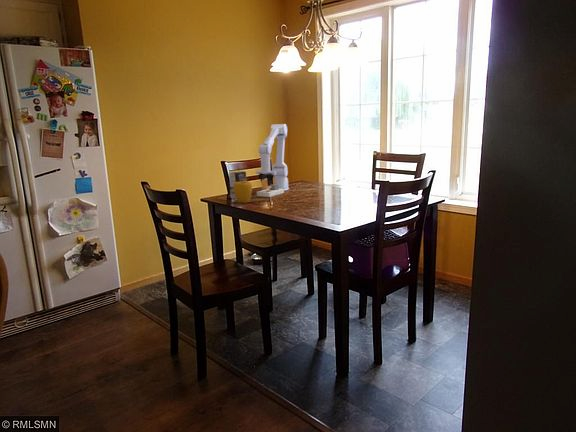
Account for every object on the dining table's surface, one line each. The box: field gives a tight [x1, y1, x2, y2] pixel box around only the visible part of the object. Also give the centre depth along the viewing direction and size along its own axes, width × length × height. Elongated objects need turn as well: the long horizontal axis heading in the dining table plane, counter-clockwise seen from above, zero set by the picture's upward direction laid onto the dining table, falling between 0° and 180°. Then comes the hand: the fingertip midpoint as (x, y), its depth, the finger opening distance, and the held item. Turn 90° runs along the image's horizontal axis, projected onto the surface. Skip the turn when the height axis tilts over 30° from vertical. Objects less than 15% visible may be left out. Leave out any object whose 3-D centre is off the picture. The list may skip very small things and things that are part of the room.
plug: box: [261, 178, 271, 190], centre depth 271 cm, size 4×4×6 cm
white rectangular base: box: [256, 183, 285, 199], centre depth 275 cm, size 16×10×6 cm, turn 146°
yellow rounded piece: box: [234, 180, 253, 204], centre depth 255 cm, size 11×11×13 cm
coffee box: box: [228, 170, 247, 200], centre depth 269 cm, size 9×6×16 cm
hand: (266, 185), depth 271 cm, fingers closed on plug, 4 cm apart
